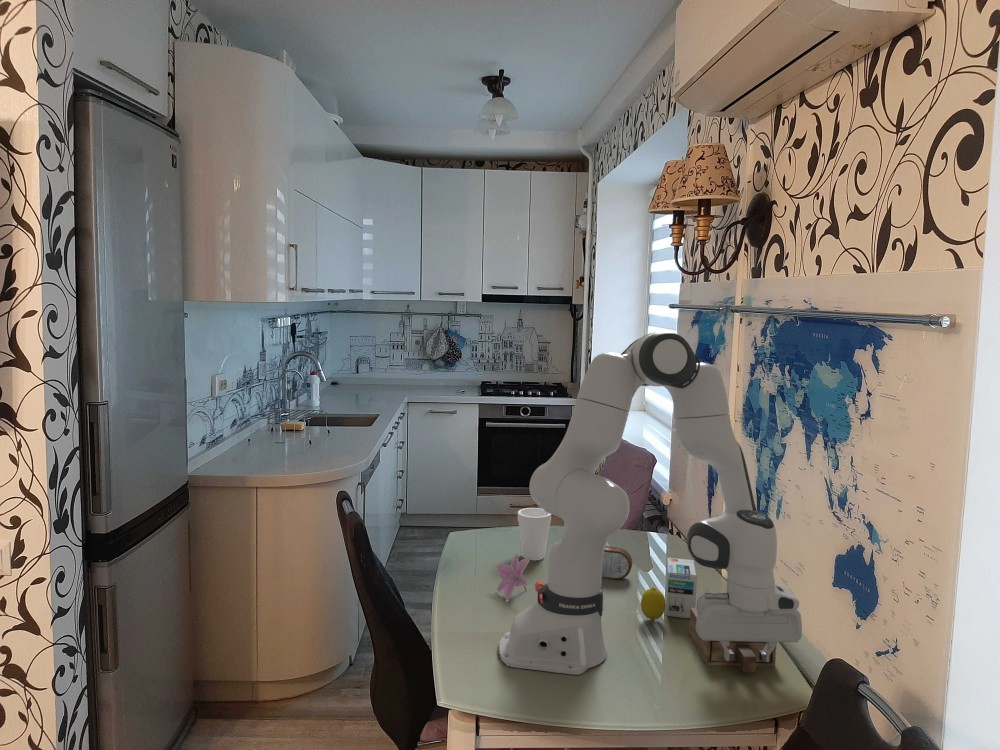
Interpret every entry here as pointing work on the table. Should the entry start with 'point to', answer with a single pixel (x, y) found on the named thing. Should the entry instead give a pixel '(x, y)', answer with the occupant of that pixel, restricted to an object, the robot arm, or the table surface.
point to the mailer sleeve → (705, 646)
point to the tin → (616, 563)
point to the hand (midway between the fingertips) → (746, 660)
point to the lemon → (653, 603)
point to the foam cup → (533, 532)
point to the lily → (512, 576)
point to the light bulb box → (680, 587)
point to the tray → (739, 653)
